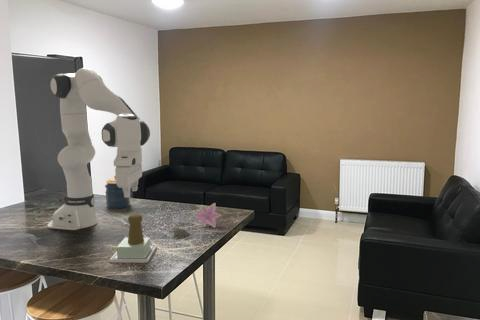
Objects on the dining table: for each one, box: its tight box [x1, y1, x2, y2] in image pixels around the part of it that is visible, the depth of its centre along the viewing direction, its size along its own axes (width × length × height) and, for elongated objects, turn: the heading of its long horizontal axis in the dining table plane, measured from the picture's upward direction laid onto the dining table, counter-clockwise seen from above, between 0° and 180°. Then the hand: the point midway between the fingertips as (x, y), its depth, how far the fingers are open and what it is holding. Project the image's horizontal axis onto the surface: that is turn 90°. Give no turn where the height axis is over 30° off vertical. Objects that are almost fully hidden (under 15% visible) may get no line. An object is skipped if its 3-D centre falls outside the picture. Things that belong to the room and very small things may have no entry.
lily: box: [192, 202, 222, 228], centre depth 186 cm, size 12×12×10 cm
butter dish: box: [109, 236, 158, 264], centre depth 151 cm, size 14×14×5 cm
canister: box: [104, 174, 131, 210], centre depth 217 cm, size 13×13×18 cm
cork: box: [127, 213, 145, 245], centre depth 149 cm, size 6×6×11 cm
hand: (131, 193), depth 147 cm, fingers open, 8 cm apart
